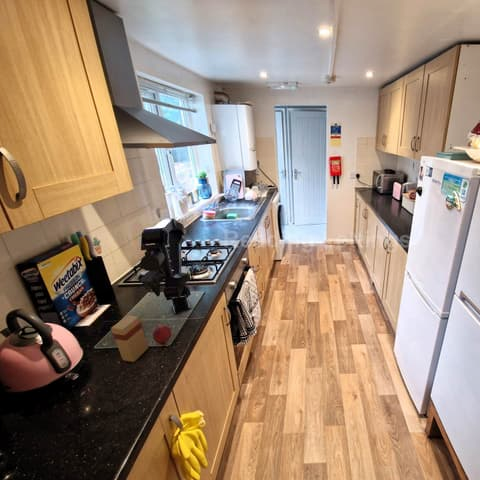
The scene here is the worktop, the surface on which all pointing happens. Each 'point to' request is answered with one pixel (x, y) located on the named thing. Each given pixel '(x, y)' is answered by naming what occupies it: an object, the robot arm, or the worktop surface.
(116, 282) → the worktop surface
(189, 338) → the worktop surface
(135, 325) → the box
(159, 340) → the onion
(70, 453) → the worktop surface
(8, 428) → the worktop surface
